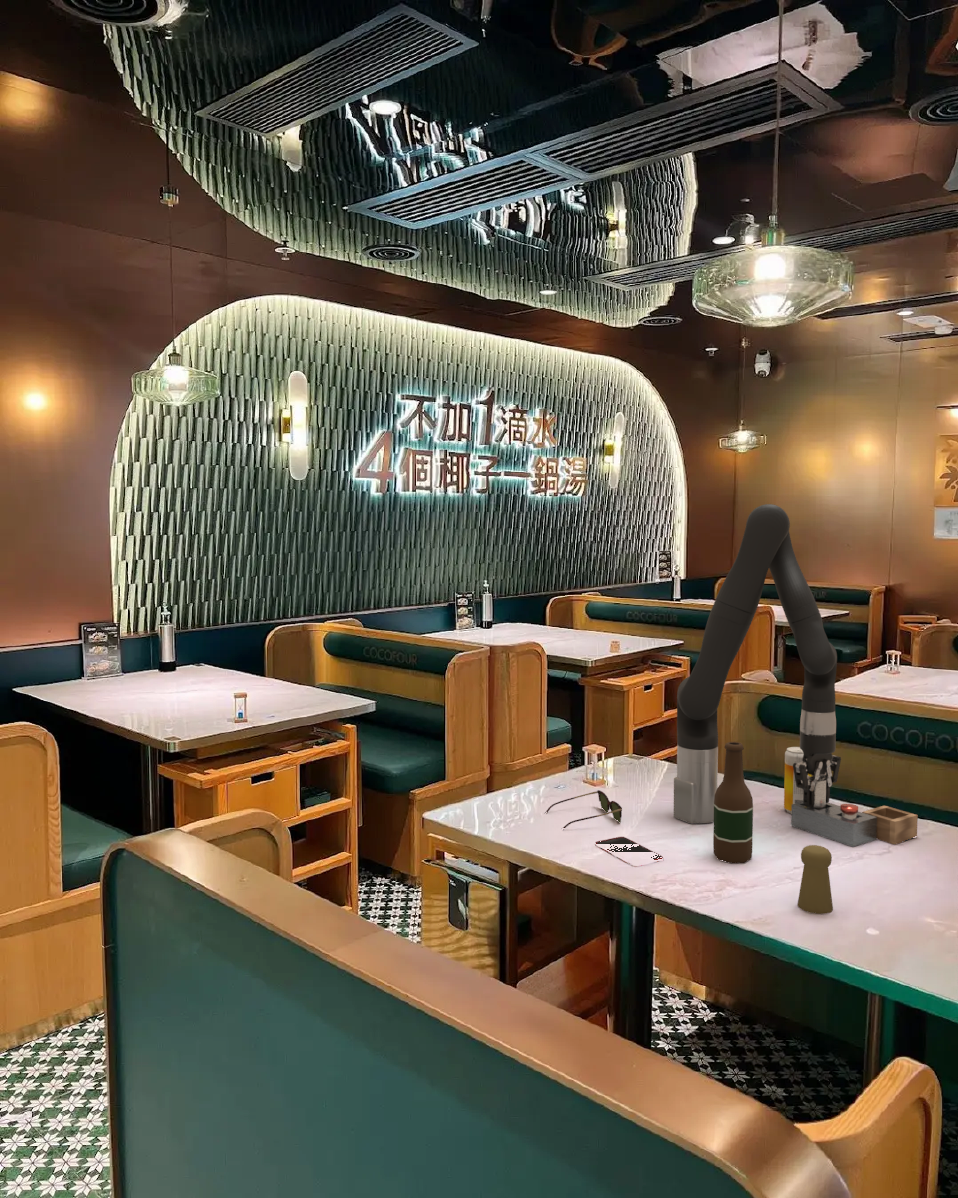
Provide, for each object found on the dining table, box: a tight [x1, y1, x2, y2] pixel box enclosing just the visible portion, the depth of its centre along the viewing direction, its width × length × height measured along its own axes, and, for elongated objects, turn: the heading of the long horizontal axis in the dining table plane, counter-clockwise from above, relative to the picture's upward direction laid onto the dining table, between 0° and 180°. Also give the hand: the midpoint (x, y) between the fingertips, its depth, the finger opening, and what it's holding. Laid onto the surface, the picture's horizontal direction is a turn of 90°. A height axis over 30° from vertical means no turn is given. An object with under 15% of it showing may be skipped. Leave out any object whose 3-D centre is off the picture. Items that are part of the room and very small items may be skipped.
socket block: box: [790, 802, 877, 848], centre depth 202 cm, size 8×16×5 cm, turn 32°
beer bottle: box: [712, 741, 754, 864], centre depth 188 cm, size 8×8×24 cm
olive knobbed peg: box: [797, 844, 834, 915], centre depth 164 cm, size 6×6×11 cm
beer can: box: [783, 746, 813, 815], centre depth 217 cm, size 6×6×15 cm
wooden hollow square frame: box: [861, 805, 918, 845], centre depth 200 cm, size 8×8×5 cm
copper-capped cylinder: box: [839, 803, 859, 820], centre depth 199 cm, size 4×4×6 cm
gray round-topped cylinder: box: [808, 777, 826, 810], centre depth 206 cm, size 4×4×11 cm
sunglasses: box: [545, 789, 623, 828], centre depth 214 cm, size 14×15×5 cm
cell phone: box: [595, 836, 664, 860], centre depth 192 cm, size 8×15×1 cm, turn 27°
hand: (816, 803), depth 206 cm, fingers open, 4 cm apart
